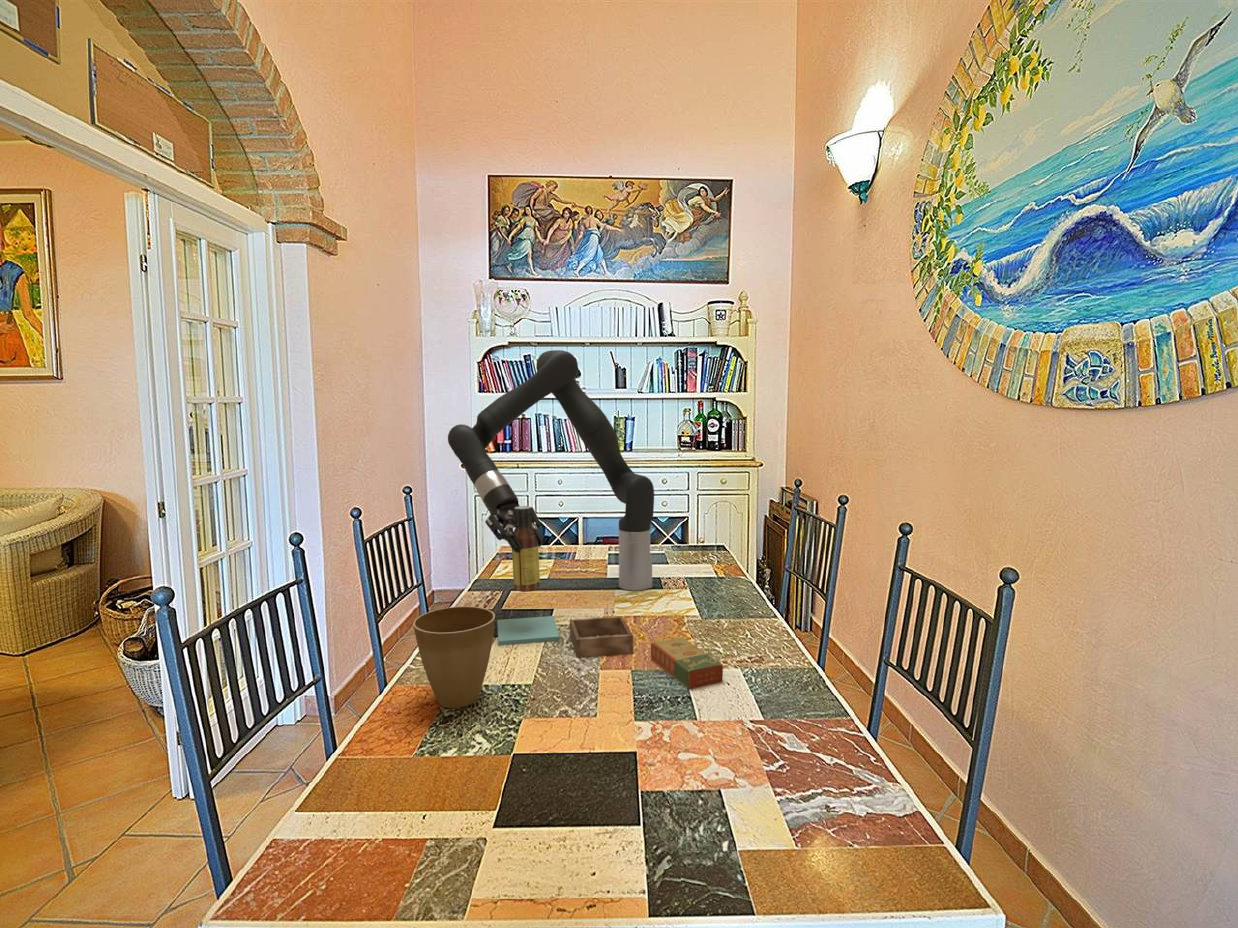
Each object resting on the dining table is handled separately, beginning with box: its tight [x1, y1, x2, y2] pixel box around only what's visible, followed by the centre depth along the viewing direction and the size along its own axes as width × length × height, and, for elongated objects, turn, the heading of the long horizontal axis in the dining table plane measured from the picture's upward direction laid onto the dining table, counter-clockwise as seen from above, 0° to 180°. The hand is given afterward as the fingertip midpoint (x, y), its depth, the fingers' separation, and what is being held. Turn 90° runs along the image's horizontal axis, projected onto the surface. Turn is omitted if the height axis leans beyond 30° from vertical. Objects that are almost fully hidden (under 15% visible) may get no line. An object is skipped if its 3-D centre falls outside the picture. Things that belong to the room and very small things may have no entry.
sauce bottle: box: [511, 505, 541, 593], centre depth 159 cm, size 6×6×20 cm
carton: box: [650, 636, 724, 690], centre depth 140 cm, size 8×16×4 cm, turn 25°
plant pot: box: [412, 605, 496, 709], centre depth 127 cm, size 15×15×16 cm
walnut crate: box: [569, 615, 634, 658], centre depth 154 cm, size 13×13×4 cm
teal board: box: [497, 615, 560, 646], centre depth 162 cm, size 14×14×1 cm
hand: (530, 547), depth 158 cm, fingers closed on sauce bottle, 6 cm apart
